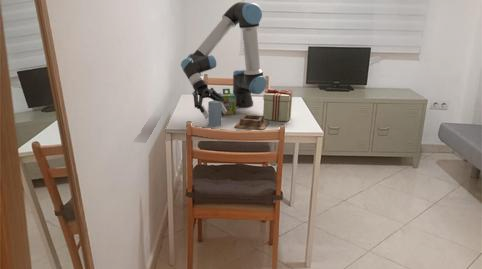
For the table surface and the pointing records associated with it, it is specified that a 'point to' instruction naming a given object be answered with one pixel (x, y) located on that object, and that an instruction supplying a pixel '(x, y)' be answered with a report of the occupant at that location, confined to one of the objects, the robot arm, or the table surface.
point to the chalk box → (228, 102)
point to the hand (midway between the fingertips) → (216, 114)
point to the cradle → (252, 122)
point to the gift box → (277, 104)
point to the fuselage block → (214, 113)
